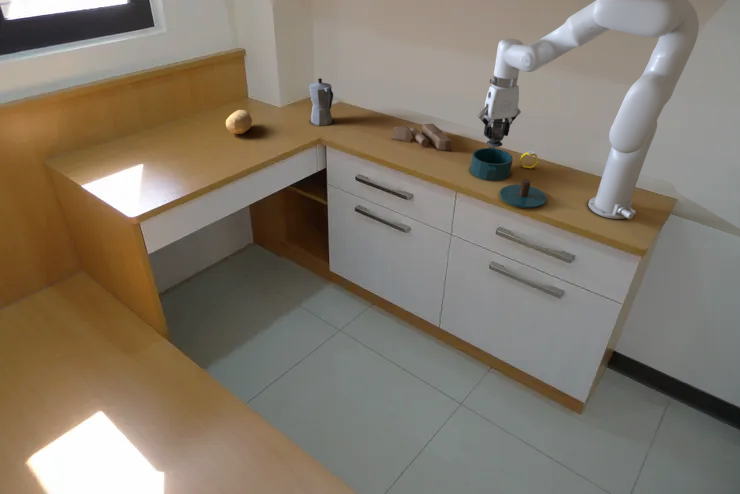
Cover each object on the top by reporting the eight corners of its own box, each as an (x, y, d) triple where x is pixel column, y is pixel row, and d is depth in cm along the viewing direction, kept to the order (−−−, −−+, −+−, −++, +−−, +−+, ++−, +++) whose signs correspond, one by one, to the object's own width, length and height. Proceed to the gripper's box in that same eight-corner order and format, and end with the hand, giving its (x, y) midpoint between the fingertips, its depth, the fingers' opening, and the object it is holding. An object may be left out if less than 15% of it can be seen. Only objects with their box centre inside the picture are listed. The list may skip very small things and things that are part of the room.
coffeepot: (303, 119, 217) (301, 76, 207) (322, 114, 222) (321, 72, 212) (323, 130, 207) (321, 86, 197) (342, 125, 212) (342, 82, 202)
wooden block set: (432, 119, 204) (452, 137, 190) (431, 133, 207) (450, 151, 193) (392, 124, 199) (410, 142, 185) (391, 137, 202) (409, 156, 188)
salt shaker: (503, 148, 170) (509, 113, 163) (485, 146, 171) (490, 111, 164) (503, 141, 175) (509, 106, 168) (485, 139, 176) (491, 105, 169)
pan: (508, 162, 186) (511, 146, 182) (510, 186, 170) (513, 169, 167) (471, 158, 188) (473, 143, 184) (469, 182, 172) (472, 165, 169)
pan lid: (543, 190, 169) (547, 173, 165) (548, 212, 157) (552, 194, 153) (499, 185, 171) (502, 168, 167) (500, 207, 159) (503, 189, 155)
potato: (256, 125, 211) (254, 106, 206) (248, 139, 199) (246, 119, 195) (233, 124, 211) (230, 105, 207) (223, 138, 200) (220, 118, 195)
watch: (518, 168, 182) (522, 152, 178) (518, 165, 184) (521, 149, 180) (536, 170, 181) (539, 154, 177) (535, 166, 183) (539, 151, 179)
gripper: (486, 87, 156) (478, 143, 166) (535, 82, 161) (524, 137, 171) (474, 80, 162) (467, 134, 172) (521, 75, 166) (512, 128, 177)
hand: (495, 135), depth 171 cm, fingers closed on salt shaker, 5 cm apart
